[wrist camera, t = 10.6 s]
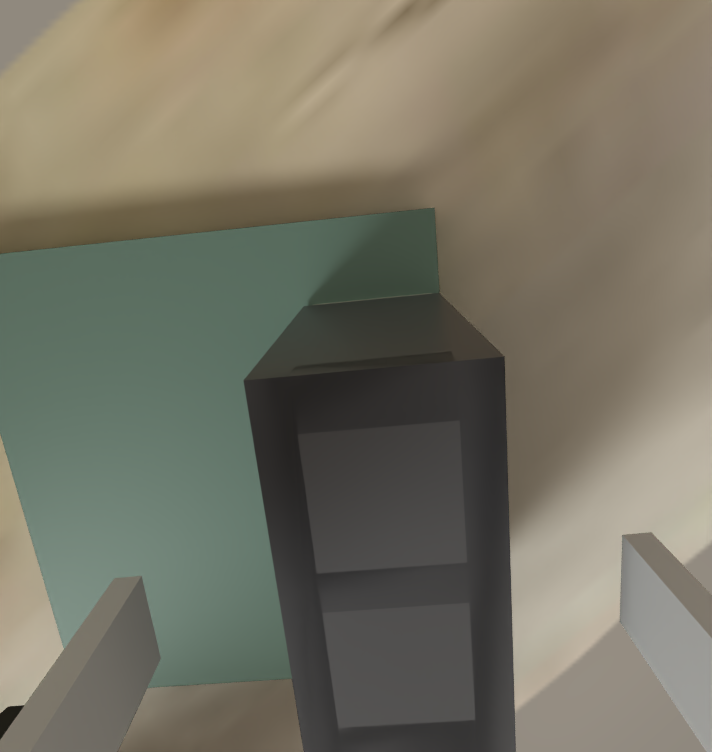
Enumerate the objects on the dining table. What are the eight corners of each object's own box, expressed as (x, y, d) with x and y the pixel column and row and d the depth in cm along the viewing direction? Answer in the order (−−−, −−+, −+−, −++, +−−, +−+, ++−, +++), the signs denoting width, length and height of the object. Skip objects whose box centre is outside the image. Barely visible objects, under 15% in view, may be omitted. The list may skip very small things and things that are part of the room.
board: (92, 667, 27) (16, 788, 21) (-23, 256, 22) (-168, 268, 16) (456, 643, 26) (481, 763, 20) (429, 208, 21) (453, 202, 15)
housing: (343, 622, 24) (326, 892, 14) (304, 305, 20) (243, 380, 10) (458, 614, 24) (519, 883, 14) (438, 292, 20) (504, 356, 10)
